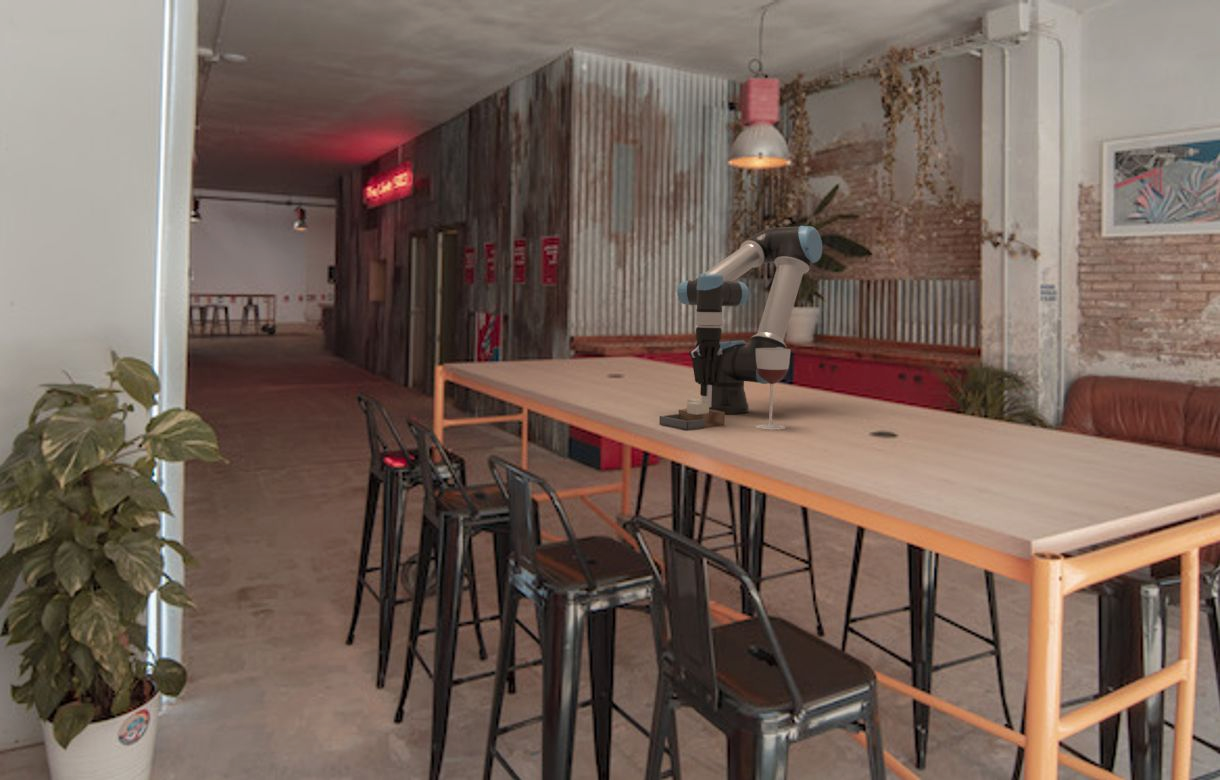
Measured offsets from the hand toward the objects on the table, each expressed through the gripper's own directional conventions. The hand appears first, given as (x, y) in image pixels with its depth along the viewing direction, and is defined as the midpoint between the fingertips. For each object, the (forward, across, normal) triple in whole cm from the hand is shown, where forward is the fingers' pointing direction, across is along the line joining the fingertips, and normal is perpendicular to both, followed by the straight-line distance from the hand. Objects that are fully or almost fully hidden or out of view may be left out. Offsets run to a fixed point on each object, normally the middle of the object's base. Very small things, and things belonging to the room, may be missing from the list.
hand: (706, 406), depth 250 cm
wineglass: (+6, -14, +12) cm, 20 cm away
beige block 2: (+2, +3, 0) cm, 4 cm away
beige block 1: (+2, -1, -5) cm, 6 cm away
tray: (+6, +7, -3) cm, 10 cm away
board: (+6, -1, -3) cm, 6 cm away
